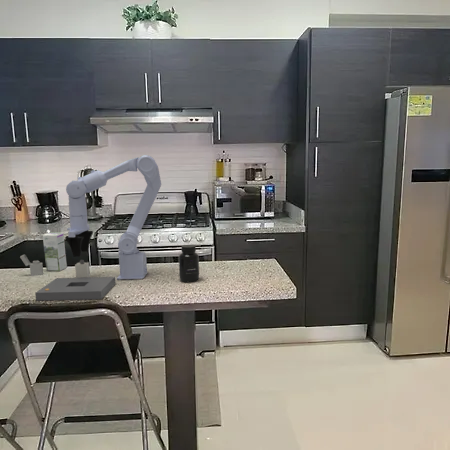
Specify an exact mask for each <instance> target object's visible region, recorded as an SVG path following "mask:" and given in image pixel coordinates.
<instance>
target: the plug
mask: <svg viewBox="0 0 450 450" xmlns="http://www.w3.org/2000/svg"><path fill="white" fill-rule="evenodd" d="M74 267H75V278H83V277H91V270H90V268H91V267H90V263H89V262H85V261H84V259H80V260H79V262H76V264H74Z"/></svg>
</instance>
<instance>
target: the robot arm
mask: <svg viewBox="0 0 450 450" xmlns="http://www.w3.org/2000/svg"><path fill="white" fill-rule="evenodd" d="M138 171H139V172H140V174H141V175H142V176H143V178H144V180H145V182H146V184H147V185H146V187H145V188H144V191H143V193H142V197H141V199H140V200H139V202H138V205H137V207H136V209H135V211H134V213H133V216H132V218H131V221H130V222H129V224H128V227H127V229H126V231H124V233H123V234H122V235H121V236H120V238H119V240H118V242H117V246H118V247H117V248H118V262H119V263H118V266H119V275H118V276H117V277H116V280H139V279H140V280H141V279H142V280H143V279H144V278H145V277H146V275H147V274H148V267H147V266H148V265H147V253H146V252H144V251H140V250H139V248H138V247H137V245H138V238H139V235H140V233H141V231H142V228H143V226H144V224H145V222H146V219H147V217H148V215H149V213H150V210H151V209H152V207H153V205H154V202H155V200H156V197H157V195H158V194H159V192H160V189H161V187H162V180H161V176H160V175H161V174H160V170H159V165H158V164H157V161H156V160H155V159H154V158H153V157H152V156H151V155H149V154H144V155H141V156H140V157H135V158H131V159H127V160H125V161H123V162H121V163H119V164H117V165H115V166H113V167H110V168H109V169H106V170H105V171H101V170H99V169H97V170H95V169H93V170H90V173H89V174H86V175H84V176H78V177H77V180H76V179H75V180H71V181H70V182H69V183H68V184H67V185H66V188H65V191H66V194H67V195H68V212H69V214H68V215H69V225H70V226H69V227H67V228H66V231H68V232H67V233H68V234H67V236H64V240H65V241H66V242H67V244H68V245H69V247H70V250H71V253H72V256H73V257H75V258H76V257H78V258H79V257H81V256H82V255H81V253H82V252H83V253H84V252H86V253H87V252H89V248H90V242H91V238H92V235H93V233H94V230H90V229H91V227H90V224H89V223H88V209H87V200H86V198H87V197H86V194H87V193H92V192H94V191H96V190H99V189H100V188H102V187H105V186H106V185H107V183H108V180H110V179H113V178H116V177H118V176H120V175H123V174H125V173H128V172H138Z"/></svg>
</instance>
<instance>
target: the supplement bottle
mask: <svg viewBox="0 0 450 450" xmlns="http://www.w3.org/2000/svg"><path fill="white" fill-rule="evenodd" d="M196 247H197V246H196V245H194V244H184V245H182V246H181V253H180V254H179V256H178V269H179V271H178V272H179V275H178V276H179V281H180V282H183V283H194V281H195V282H198V281H199V280H200V259H199V257H200V256H199V254H198V253H197V251H196V249H197V248H196ZM197 280H198V281H197Z"/></svg>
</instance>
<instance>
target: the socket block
mask: <svg viewBox="0 0 450 450" xmlns="http://www.w3.org/2000/svg"><path fill="white" fill-rule="evenodd" d="M116 283H117V282H116V276H94V277H93V276H90V277H83V278H76V277H56V278H55V279H53V280H51V281H50V282H49V283H47V284H46V285H45V286H42V287H41V288H40V289H39V290H37V291H36V292H35V301H36V302H37V301H38V302H39V301H40V302H41V301H74V300H77V301H79V300H103V298H104V297H105V296H106V295H107V294H108V293H109V292H110V291H111V290H112V289H113V287H114V286H115V285H116Z"/></svg>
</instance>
